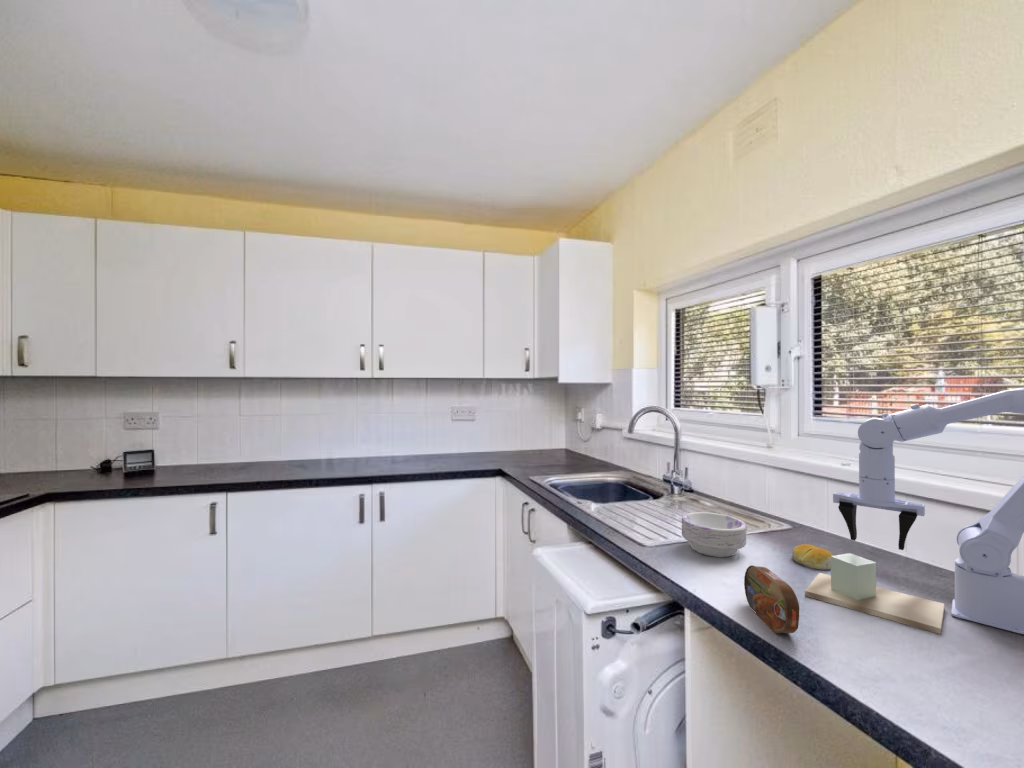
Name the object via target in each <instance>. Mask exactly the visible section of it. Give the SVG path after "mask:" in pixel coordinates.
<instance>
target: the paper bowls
mask: <svg viewBox="0 0 1024 768" xmlns="http://www.w3.org/2000/svg"><path fill="white" fill-rule="evenodd" d="M747 529H748V527H747V524H746V523H745V521H743V520H741V519H739V518H737V517H734V516H730V515H727V514H722V513H716V512H706V511H704V512H703V511H699V512H698V511H697V512H690V513H689V512H688V513H685V514H684V515H682V518H681V536H682V538H683V539H684V540H685V541H687V542H689V544H690V546H691V548H692V549H693V550H694V551H695V552H697V553H699V554H702V555H705V556H708V557H714V558H715V557H716V558H727V557H728V558H729V557H731V556H734V555H735V554H736V553H737V551H738V550H739V549H743V548H745V547H746V545H747V534H748V533H747Z"/></svg>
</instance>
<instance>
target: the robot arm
mask: <svg viewBox="0 0 1024 768" xmlns="http://www.w3.org/2000/svg"><path fill="white" fill-rule="evenodd" d="M1000 413H1001V414H1003V413H1011V414H1021V415H1024V386H1023V387H1018V388H1017V387H1016V388H1012V389H1006V390H1002V391H997V392H994V393H991V394H987V395H983V396H980V397H976V398H973V399H969V400H966V401H962V402H958V403H955V404H952V405H948V406H945V407H940V408H939V407H935V406H933V405H930V404H924V405H921V406H920V404H919V403H914V404H911V405H910V408H909V409H905V410H901V411H897V412H894V413H890V414H889V413H888V412H885V413H881V417H882V418H879V417H872V418H869V419H867V420H865V421H863V423H861V424H860V425H859V426H858V429H857V437H858V439H859V440H860V443H859V445H858V446H859V447H858V448H859V451H860V452H859V454H858V483H859V484H858V493H847V492H837V491H835V492H833V494H832V502H833V504H834V503H835V504H839V505H838V510H839V513H841V516H842V518H843V519H844V522H845V523H846V526H847V530H848V533H849V536H850V540H851V541H856V540H857V539H858V538H857V537H858V536H857V535H858V531H857V508H858V507H859V506H860V507H866V508H872V509H880V510H887V511H892V512H898V513H899V514H898V529H899V530H898V532H899V535H898V536H899V537H898V550H901V551H904V549H905V544H906V540H907V537H908V533H909V532H910V529H911V528H912V526H913V524H914V523H915V521H916V520H917V517H918V516H919V517H924V516H925V514H926V509H925V507H926V504H923V503H919V502H918V503H917V502H912V501H909V500H908V501H906V500H901V499H896V488H895V487H896V482H895V481H896V479H895V475H896V471H895V470H896V469H895V468H896V466H895V465H896V464H895V463H896V462H895V461H896V459H895V455H894V447H893V446H894V444H893V443H894V441H897V442H900V443H902V442H903V443H904V442H907V441H911V440H912V441H913V440H917V439H920V438H924V437H925V438H926V437H928V436H929V437H930V436H933V435H938V434H942V433H943V432H944V431H945V428H946V427H947V425H950V424H954V423H959V422H963V421H968V420H973V419H974V420H975V419H979V418H982V417H989V416H991V415H996V414H997V415H998V414H1000ZM1023 535H1024V474H1023V475H1022V476H1021V477H1020V479H1018V481H1016V482H1015V484H1013V486H1012V487H1011V488H1010V489H1009V491H1007V493H1006V494H1005V495H1004V496H1003V497H1002V498H1001V499H1000V500H999V501H998V503H996V504H995V506H994V507H993V508H992V509H991V510H990V511H989V512H987V513H986V514H985V515H982V516H981V517H980V518H979V519H978V520H977V521H976V522H974V523H973V524H970V525H965V526H964V527H962V528H961V529H960V530H959V531H958V532H957V533H956V542H957V545H958V548H959V556H958V557H957V558H955V559H954V598H953V599H952V602H951V610H950V614H951V616H953V617H955V618H959V619H963V620H967V621H970V622H974V623H977V624H978V623H979V624H982V625H985V626H989V627H993V628H997V629H1001V630H1006V631H1009V632H1013V633H1015V634H1016V633H1017V634H1019V635H1024V575H1022V574H1021V575H1020V574H1017V573H1013V572H1012V570H1011V567H1010V565H1011V563H1012V554H1013V552H1014V551H1015V550H1016V549H1017V547H1018V546H1019V544H1020V541H1021V539H1022V537H1023Z"/></svg>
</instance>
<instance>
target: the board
mask: <svg viewBox="0 0 1024 768" xmlns="http://www.w3.org/2000/svg"><path fill="white" fill-rule="evenodd" d="M804 596H805V597H808V598H812V599H816V600H819V601H822V602H827V603H830V604H833V605H836V606H840V607H843V608H846V609H851V610H855V611H857V612H861V613H865V614H869V615H871V616H874V617H875V616H876V617H880V618H883V619H886V620H890V621H893V622H897V623H900V624H904V625H908V626H911V627H914V628H918V629H920V630H924V631H925V630H926V631H929V632H932V633H936V634H938V635H941V634H942V629H943V621H944V614H945V613H944V612H945V603H944V602H943V603H942V602H939V601H934V600H931V599H927V598H923V597H920V596H916V595H911V594H908V593H907V594H906V593H902V592H899V591H894V590H890V589H886V588H884V587H879V586H876V596H874V597H870V598H865V599H860V600H856V599H853V598H851V597H849V596H847V595H844V594H842V593H840V592H838V591H835V590H833V589H831V574H826V573H821V572H818V574H817V575H816V576H815V578H814V579H813V580H812V582H811V583H810V584H809V585H808V586H807V588H806V589H805V590H804Z"/></svg>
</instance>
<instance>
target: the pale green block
mask: <svg viewBox="0 0 1024 768" xmlns="http://www.w3.org/2000/svg"><path fill="white" fill-rule="evenodd" d="M830 575H831V589H833V590H835V591H838V592H840V593H842V594H844V595H847V596H849V597H851V598H853V599H856V600H860V599H865V598H870V597H874V596H876V587H877V562H876V561H873V560H870V559H868V558H864V557H862V556H859V555H856V554H854V553H851V552H848V553H842V554H837V555H834V556H831V569H830Z"/></svg>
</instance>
